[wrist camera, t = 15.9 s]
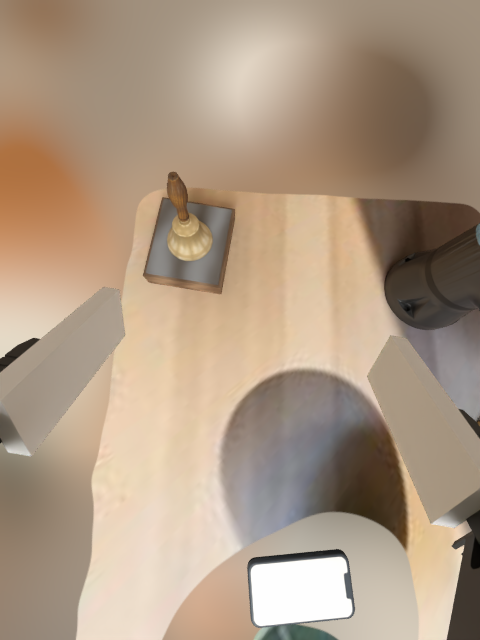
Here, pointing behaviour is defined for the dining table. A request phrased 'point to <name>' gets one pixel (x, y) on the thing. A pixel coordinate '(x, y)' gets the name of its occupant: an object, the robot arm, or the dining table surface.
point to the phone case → (300, 588)
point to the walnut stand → (199, 272)
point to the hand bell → (186, 225)
